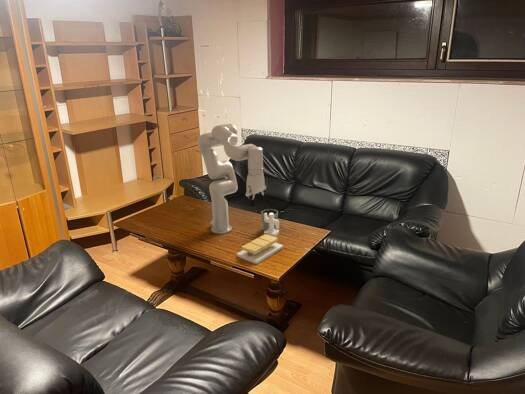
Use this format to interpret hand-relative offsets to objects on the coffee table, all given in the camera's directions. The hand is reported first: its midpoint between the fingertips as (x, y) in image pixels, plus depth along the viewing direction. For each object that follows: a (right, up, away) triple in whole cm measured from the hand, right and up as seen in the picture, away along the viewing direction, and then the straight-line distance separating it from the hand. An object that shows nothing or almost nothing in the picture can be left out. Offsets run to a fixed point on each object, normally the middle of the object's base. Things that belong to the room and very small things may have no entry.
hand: (256, 204), depth 205 cm
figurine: (+9, -20, +26) cm, 34 cm away
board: (+2, -26, +8) cm, 28 cm away
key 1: (+6, -20, +11) cm, 24 cm away
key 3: (-3, -24, +1) cm, 24 cm away
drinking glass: (+8, -17, +35) cm, 40 cm away
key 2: (+2, -22, +6) cm, 23 cm away
